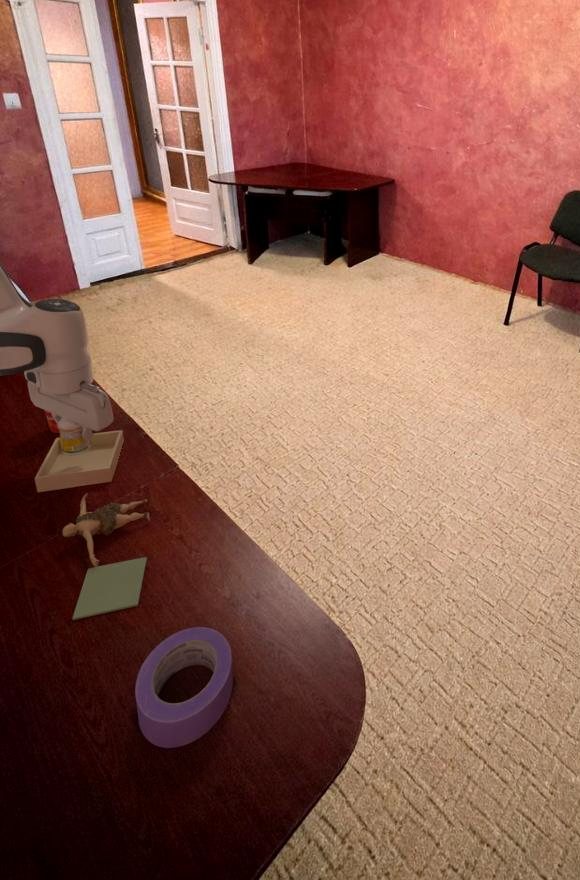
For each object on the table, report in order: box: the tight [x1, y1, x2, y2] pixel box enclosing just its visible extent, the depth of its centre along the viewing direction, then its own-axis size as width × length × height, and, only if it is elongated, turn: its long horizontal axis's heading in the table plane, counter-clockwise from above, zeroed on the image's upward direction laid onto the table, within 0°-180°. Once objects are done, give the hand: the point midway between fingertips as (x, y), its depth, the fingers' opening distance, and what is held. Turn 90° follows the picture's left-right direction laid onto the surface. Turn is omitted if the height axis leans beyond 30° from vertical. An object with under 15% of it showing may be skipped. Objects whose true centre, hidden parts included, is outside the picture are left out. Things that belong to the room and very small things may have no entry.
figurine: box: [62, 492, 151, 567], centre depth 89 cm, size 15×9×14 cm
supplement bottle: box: [59, 413, 92, 456], centre depth 102 cm, size 5×5×10 cm
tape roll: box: [134, 626, 234, 749], centre depth 65 cm, size 12×12×5 cm
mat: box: [72, 556, 148, 621], centre depth 79 cm, size 9×9×1 cm
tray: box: [34, 429, 125, 493], centre depth 105 cm, size 13×13×4 cm
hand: (75, 433), depth 102 cm, fingers closed on supplement bottle, 5 cm apart
